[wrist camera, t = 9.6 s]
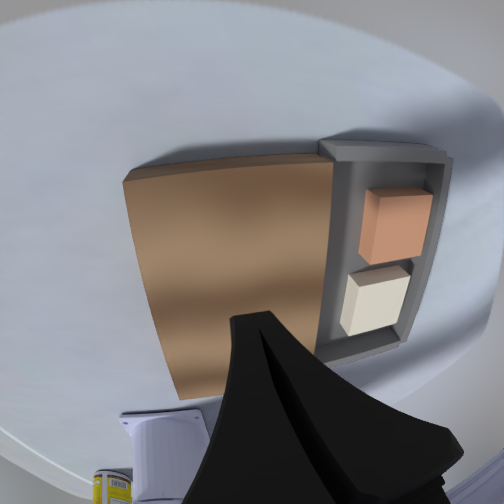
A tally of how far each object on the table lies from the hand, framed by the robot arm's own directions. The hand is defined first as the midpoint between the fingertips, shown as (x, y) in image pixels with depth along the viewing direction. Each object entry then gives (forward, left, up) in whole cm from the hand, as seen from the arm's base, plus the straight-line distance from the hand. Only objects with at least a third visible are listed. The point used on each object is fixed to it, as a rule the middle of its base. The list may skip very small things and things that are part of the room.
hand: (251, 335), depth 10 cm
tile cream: (-6, -11, -7) cm, 14 cm away
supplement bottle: (-35, +19, -9) cm, 41 cm away
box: (-3, -10, -9) cm, 14 cm away
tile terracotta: (0, -11, -7) cm, 13 cm away
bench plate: (-4, -1, -9) cm, 10 cm away
